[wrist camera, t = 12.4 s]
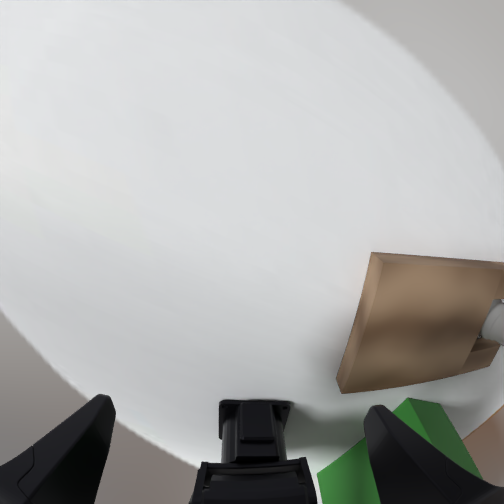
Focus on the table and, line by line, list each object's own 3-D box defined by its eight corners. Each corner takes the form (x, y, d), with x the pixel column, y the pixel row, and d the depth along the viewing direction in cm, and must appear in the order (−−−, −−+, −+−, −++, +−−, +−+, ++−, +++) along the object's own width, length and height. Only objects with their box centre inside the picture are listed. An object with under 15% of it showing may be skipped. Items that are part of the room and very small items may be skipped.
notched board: (480, 356, 25) (489, 366, 23) (335, 378, 23) (341, 393, 22) (518, 263, 20) (530, 271, 19) (371, 252, 19) (383, 262, 17)
